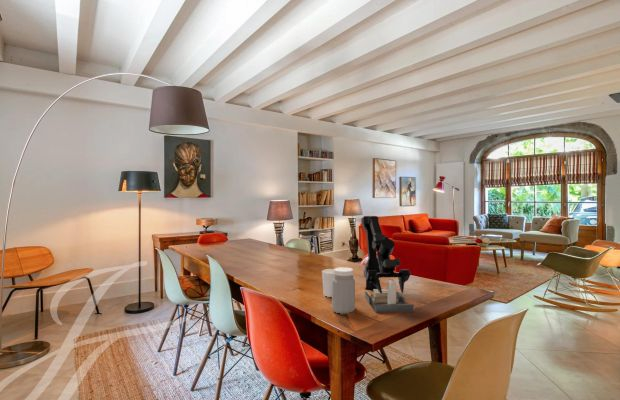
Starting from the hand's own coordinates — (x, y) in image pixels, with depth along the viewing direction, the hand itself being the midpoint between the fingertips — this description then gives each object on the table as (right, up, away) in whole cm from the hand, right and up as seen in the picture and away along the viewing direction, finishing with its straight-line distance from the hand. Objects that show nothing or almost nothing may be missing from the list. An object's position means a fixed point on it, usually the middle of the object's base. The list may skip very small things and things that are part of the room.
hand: (392, 292), depth 140 cm
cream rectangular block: (0, -7, 0) cm, 7 cm away
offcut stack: (-1, -8, +12) cm, 14 cm away
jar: (-21, -8, +1) cm, 22 cm away
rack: (0, -8, +6) cm, 10 cm away
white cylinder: (-24, -8, +23) cm, 34 cm away
